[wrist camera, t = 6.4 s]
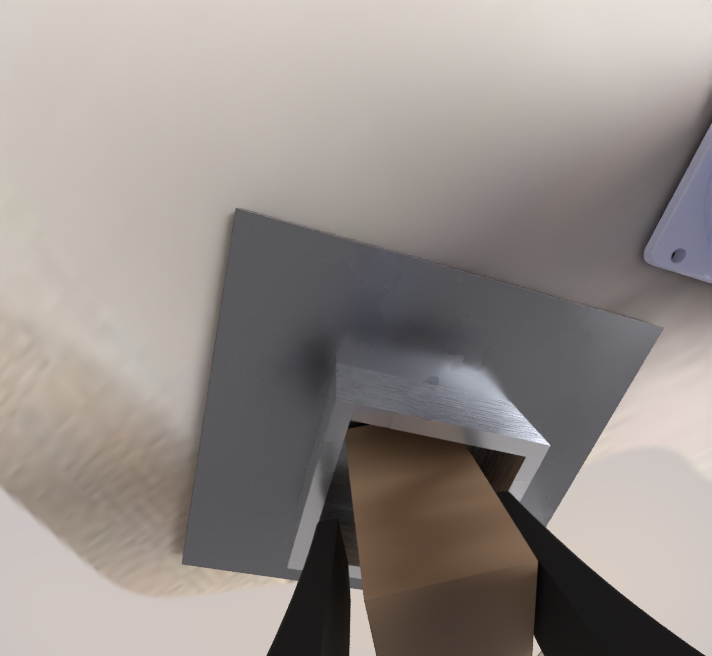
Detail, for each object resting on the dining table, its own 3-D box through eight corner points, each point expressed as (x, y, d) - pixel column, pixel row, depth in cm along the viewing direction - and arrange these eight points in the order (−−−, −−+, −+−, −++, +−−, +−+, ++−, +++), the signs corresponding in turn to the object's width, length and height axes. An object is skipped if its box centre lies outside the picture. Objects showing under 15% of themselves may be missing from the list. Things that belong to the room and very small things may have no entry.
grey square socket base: (649, 322, 13) (743, 355, 10) (492, 596, 18) (523, 674, 15) (241, 208, 11) (203, 205, 8) (187, 551, 16) (151, 631, 13)
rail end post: (443, 410, 13) (537, 560, 7) (448, 486, 14) (531, 662, 9) (343, 429, 13) (364, 599, 7) (359, 505, 14) (385, 697, 9)
